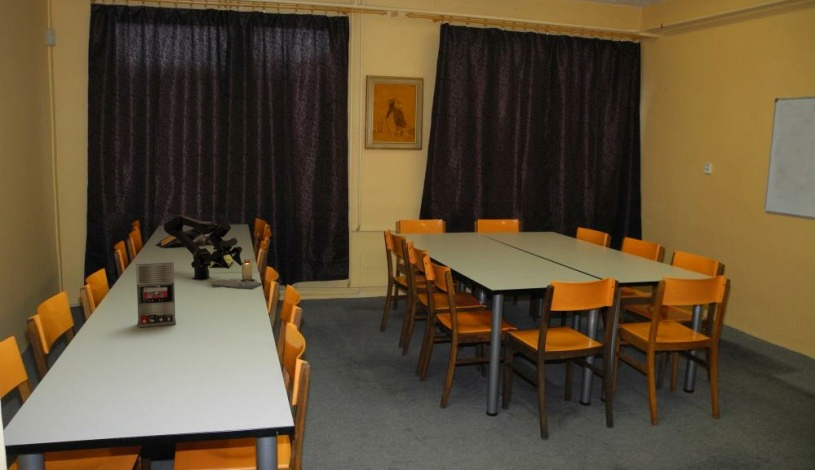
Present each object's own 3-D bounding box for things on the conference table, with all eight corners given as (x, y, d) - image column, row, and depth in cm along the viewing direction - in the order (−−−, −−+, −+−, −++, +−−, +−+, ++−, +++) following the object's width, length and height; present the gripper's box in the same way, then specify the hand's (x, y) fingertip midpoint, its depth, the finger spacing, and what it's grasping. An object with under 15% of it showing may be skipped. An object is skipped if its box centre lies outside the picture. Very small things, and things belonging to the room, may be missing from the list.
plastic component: (230, 264, 356) (213, 256, 354) (224, 275, 357) (208, 267, 355) (234, 254, 376) (218, 247, 373) (228, 265, 377) (213, 258, 374)
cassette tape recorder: (138, 328, 244) (135, 265, 240) (137, 323, 250) (135, 261, 246) (175, 325, 250) (174, 263, 246) (174, 320, 255) (173, 260, 251)
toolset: (164, 249, 401) (149, 220, 414) (162, 269, 414) (148, 240, 427) (224, 235, 425) (208, 208, 437) (220, 255, 438) (205, 228, 450)
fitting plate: (211, 286, 313) (210, 280, 313) (221, 281, 324) (221, 275, 324) (252, 289, 309) (252, 283, 309) (261, 284, 320) (261, 278, 319)
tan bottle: (241, 285, 313) (241, 260, 311) (243, 283, 317) (242, 258, 316) (251, 285, 313) (251, 260, 311) (253, 283, 318) (252, 258, 316)
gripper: (213, 235, 309) (230, 260, 306) (239, 230, 326) (256, 254, 322) (201, 249, 314) (218, 273, 311) (228, 244, 330) (244, 267, 327)
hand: (235, 266), depth 318 cm, fingers open, 9 cm apart
